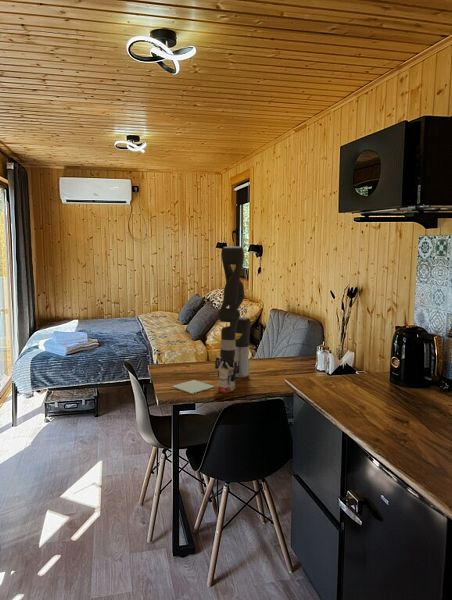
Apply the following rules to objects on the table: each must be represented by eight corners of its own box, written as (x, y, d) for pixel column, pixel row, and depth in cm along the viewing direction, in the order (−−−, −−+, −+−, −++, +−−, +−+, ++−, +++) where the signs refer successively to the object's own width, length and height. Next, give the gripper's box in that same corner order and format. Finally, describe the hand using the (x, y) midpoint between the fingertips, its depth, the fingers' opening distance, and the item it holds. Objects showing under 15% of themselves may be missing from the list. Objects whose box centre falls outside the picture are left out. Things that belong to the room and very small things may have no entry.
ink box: (226, 393, 231) (227, 370, 229) (218, 391, 233) (218, 368, 232) (235, 389, 238) (236, 366, 237) (227, 387, 241) (227, 365, 239)
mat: (194, 380, 250) (194, 379, 250) (214, 387, 240) (214, 386, 240) (171, 387, 238) (171, 386, 238) (192, 394, 228) (192, 393, 228)
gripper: (243, 349, 231) (242, 381, 233) (222, 344, 240) (221, 375, 242) (233, 351, 225) (232, 384, 227) (212, 346, 235) (211, 377, 237)
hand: (226, 379), depth 235 cm, fingers open, 8 cm apart
